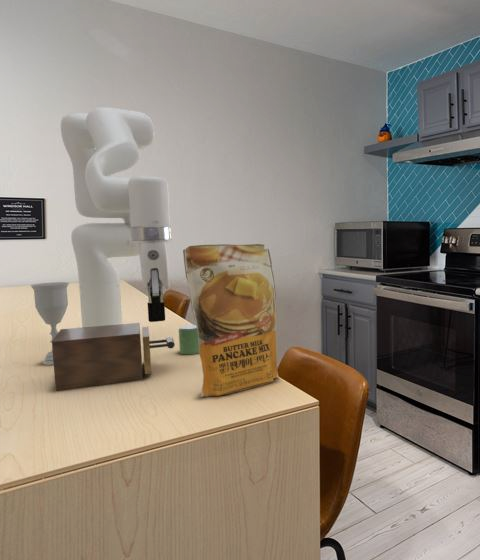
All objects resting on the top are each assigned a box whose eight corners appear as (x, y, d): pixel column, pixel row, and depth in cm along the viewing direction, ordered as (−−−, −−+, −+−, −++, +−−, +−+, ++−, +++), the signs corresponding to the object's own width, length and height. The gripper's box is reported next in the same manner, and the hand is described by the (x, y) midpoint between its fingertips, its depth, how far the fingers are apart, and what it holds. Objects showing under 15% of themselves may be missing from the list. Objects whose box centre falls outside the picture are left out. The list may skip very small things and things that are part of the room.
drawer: (173, 357, 117) (171, 324, 116) (176, 370, 107) (174, 334, 107) (79, 368, 109) (76, 332, 108) (73, 383, 99) (70, 344, 98)
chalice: (54, 366, 113) (48, 286, 111) (29, 365, 114) (22, 285, 112) (82, 358, 120) (76, 282, 118) (58, 356, 121) (52, 281, 119)
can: (179, 350, 127) (177, 326, 126) (200, 348, 129) (199, 324, 129) (180, 355, 123) (179, 329, 122) (202, 352, 125) (201, 327, 124)
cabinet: (142, 364, 115) (139, 322, 114) (142, 379, 104) (139, 333, 103) (64, 373, 108) (60, 329, 107) (55, 390, 97) (51, 341, 96)
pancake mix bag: (182, 394, 95) (174, 245, 92) (272, 372, 109) (268, 242, 106) (199, 402, 91) (191, 246, 88) (290, 378, 105) (286, 243, 102)
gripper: (173, 236, 103) (178, 325, 105) (169, 235, 116) (174, 314, 118) (130, 236, 99) (137, 328, 101) (131, 235, 112) (137, 317, 114)
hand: (157, 320), depth 110 cm, fingers closed
